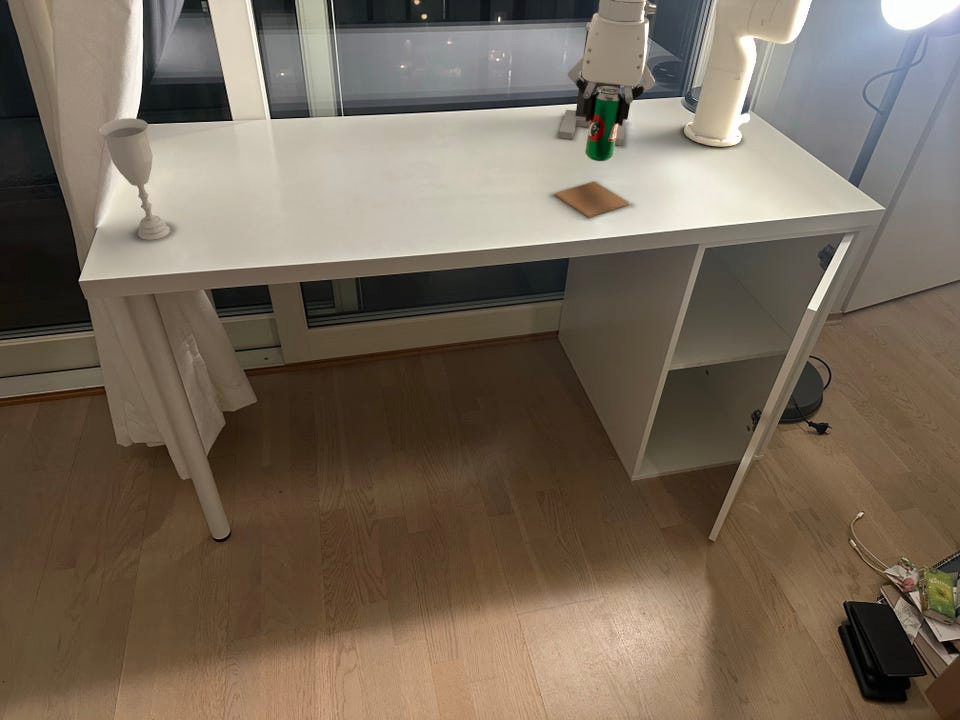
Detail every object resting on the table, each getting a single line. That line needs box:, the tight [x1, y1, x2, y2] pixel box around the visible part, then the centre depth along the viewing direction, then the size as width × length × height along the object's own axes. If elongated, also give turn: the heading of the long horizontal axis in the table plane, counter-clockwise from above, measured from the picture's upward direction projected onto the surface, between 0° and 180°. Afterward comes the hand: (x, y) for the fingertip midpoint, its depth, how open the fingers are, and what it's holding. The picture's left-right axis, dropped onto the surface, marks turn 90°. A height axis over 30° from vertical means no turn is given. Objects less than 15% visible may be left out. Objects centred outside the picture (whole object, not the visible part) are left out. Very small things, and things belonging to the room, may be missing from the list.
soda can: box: [584, 86, 624, 162], centre depth 124 cm, size 5×5×12 cm
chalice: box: [98, 117, 171, 241], centre depth 112 cm, size 7×7×18 cm
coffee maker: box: [558, 21, 627, 147], centre depth 153 cm, size 14×14×21 cm
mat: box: [554, 181, 630, 218], centre depth 134 cm, size 10×10×1 cm
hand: (604, 119), depth 124 cm, fingers closed on soda can, 5 cm apart
